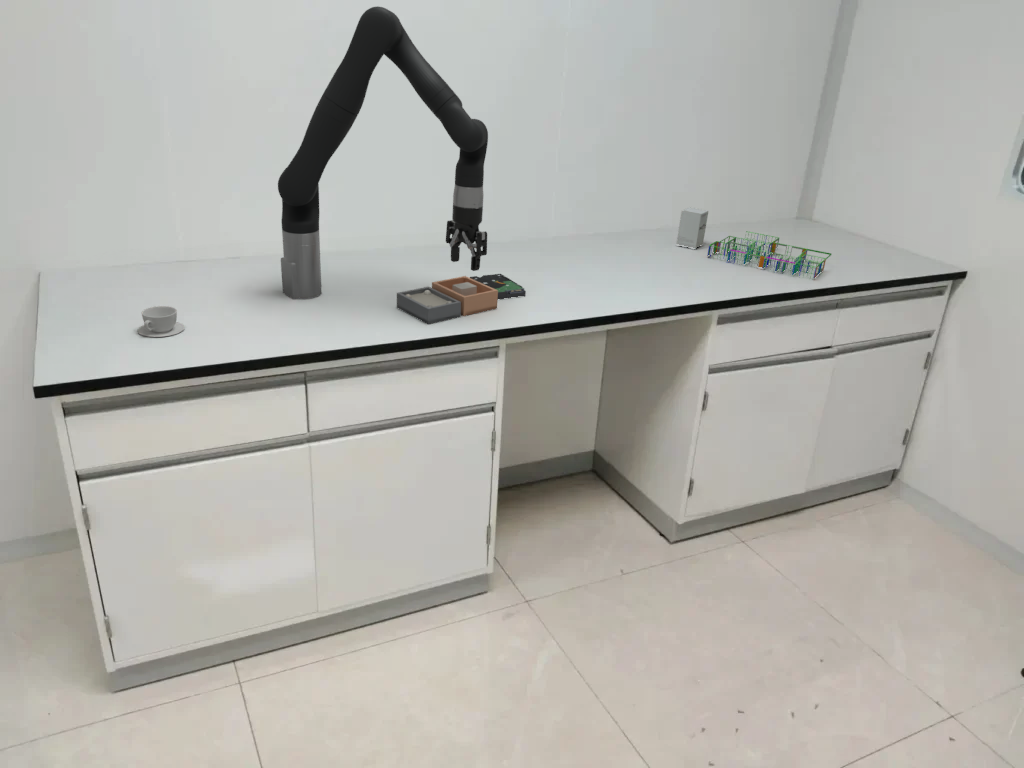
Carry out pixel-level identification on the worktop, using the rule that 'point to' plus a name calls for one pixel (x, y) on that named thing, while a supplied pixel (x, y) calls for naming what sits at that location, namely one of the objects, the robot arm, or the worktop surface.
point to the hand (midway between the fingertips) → (464, 265)
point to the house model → (765, 259)
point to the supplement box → (692, 227)
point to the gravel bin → (428, 305)
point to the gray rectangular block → (465, 288)
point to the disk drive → (501, 285)
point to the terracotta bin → (470, 303)
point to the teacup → (160, 322)
